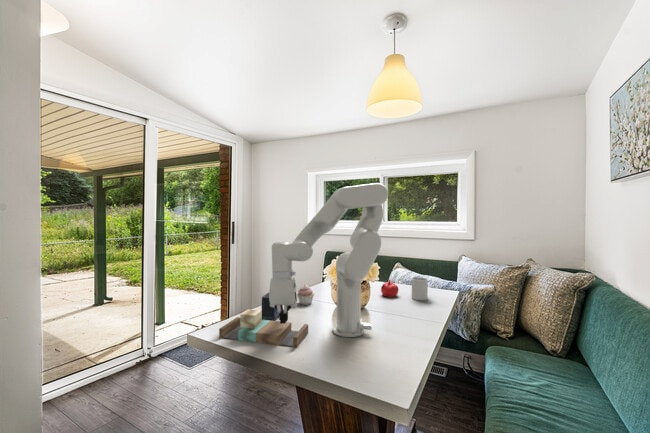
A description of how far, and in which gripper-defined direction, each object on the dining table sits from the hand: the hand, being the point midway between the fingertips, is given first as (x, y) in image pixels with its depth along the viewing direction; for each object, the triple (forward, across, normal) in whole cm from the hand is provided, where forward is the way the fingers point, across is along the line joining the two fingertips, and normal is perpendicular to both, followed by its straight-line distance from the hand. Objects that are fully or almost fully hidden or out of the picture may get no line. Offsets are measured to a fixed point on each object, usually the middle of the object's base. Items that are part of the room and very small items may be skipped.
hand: (283, 322), depth 116 cm
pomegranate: (+8, -38, -69) cm, 79 cm away
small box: (+6, +13, -18) cm, 23 cm away
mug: (+8, -54, -69) cm, 88 cm away
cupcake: (+6, +5, -42) cm, 43 cm away
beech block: (+2, +13, +1) cm, 13 cm away
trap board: (+5, +8, +1) cm, 9 cm away
